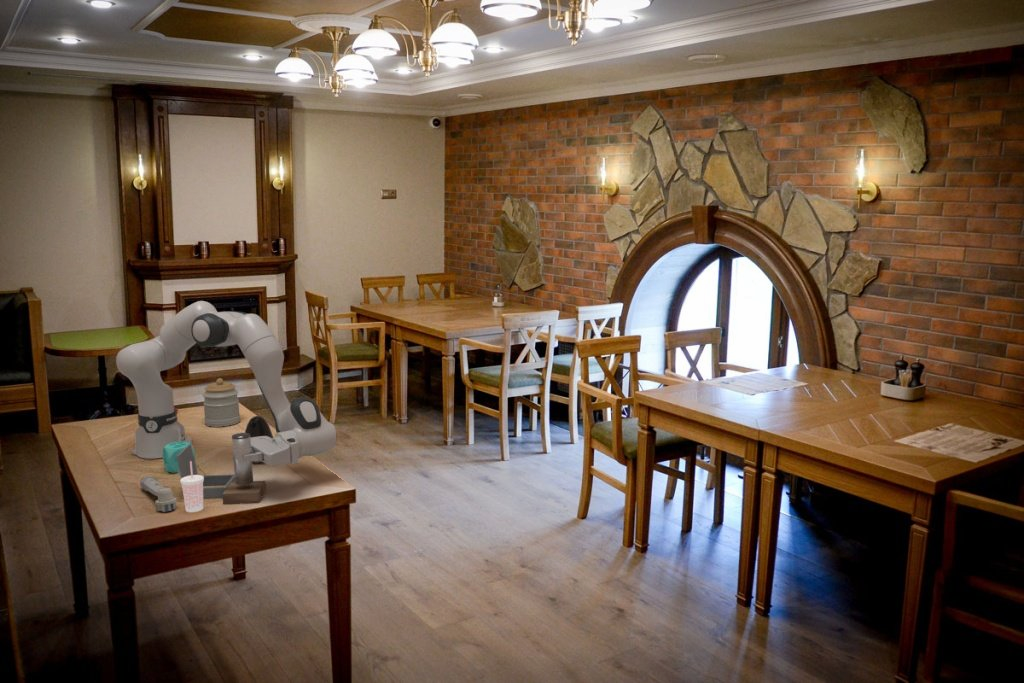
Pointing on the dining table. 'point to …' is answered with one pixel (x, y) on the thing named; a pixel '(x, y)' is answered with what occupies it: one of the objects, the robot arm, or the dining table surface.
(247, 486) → the walnut block
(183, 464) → the equipment case
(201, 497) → the beverage cup
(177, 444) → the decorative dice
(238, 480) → the steel canister
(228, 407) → the jar
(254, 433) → the black egg-shaped speaker
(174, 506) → the grey flashlight
